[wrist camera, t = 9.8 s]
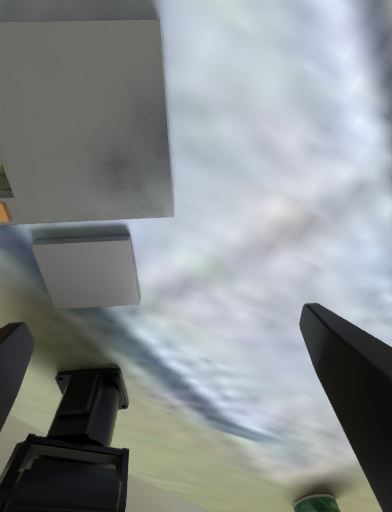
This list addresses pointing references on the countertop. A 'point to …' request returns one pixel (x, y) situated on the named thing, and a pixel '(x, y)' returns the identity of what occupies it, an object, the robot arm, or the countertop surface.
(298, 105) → the countertop surface
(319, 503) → the canned tomato
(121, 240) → the tab
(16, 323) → the robot arm
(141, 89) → the rail plate
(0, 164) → the brass clip
